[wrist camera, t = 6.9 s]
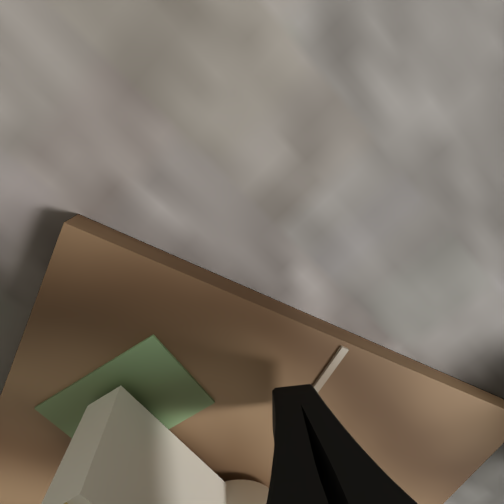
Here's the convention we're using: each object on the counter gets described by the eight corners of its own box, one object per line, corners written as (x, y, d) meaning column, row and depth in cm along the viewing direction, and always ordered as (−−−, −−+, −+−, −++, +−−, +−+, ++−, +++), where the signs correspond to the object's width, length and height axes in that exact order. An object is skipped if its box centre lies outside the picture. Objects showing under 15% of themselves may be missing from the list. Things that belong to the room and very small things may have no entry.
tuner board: (310, 609, 19) (315, 635, 18) (-51, 556, 14) (-71, 589, 13) (507, 401, 15) (529, 420, 14) (78, 214, 10) (62, 223, 9)
